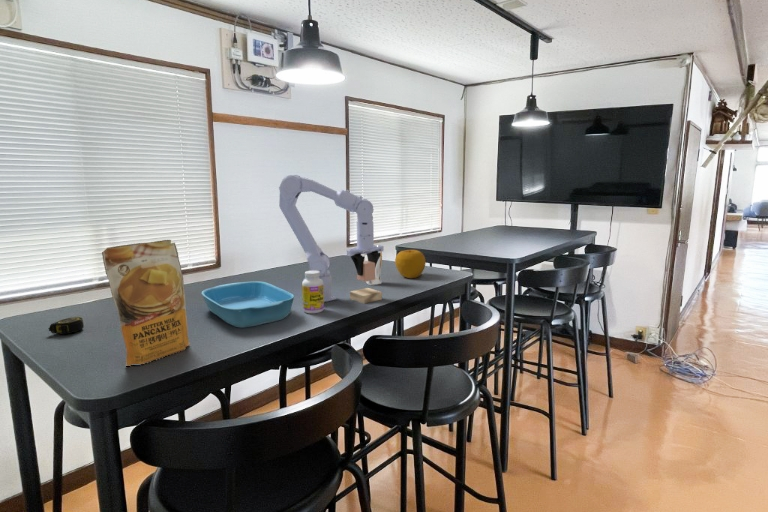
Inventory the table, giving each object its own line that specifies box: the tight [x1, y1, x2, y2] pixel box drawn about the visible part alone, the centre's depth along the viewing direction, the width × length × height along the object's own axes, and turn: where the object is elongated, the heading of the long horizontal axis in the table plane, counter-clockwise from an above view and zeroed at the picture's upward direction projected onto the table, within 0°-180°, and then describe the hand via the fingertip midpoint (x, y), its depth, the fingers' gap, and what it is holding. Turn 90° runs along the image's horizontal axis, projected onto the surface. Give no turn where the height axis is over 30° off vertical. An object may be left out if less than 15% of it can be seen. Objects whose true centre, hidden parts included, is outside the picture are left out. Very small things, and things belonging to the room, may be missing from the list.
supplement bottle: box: [301, 270, 325, 314], centre depth 145 cm, size 7×7×13 cm
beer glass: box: [363, 244, 383, 286], centre depth 180 cm, size 7×7×15 cm
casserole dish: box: [201, 280, 295, 329], centre depth 144 cm, size 37×22×7 cm, turn 37°
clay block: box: [356, 260, 375, 282], centre depth 158 cm, size 4×4×6 cm
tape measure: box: [48, 316, 85, 335], centre depth 130 cm, size 7×7×4 cm
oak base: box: [349, 287, 383, 304], centre depth 159 cm, size 8×8×3 cm
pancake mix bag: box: [101, 239, 191, 368], centre depth 109 cm, size 7×19×28 cm, turn 146°
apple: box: [394, 249, 427, 279], centre depth 192 cm, size 13×13×11 cm
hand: (365, 274), depth 158 cm, fingers closed on clay block, 4 cm apart
